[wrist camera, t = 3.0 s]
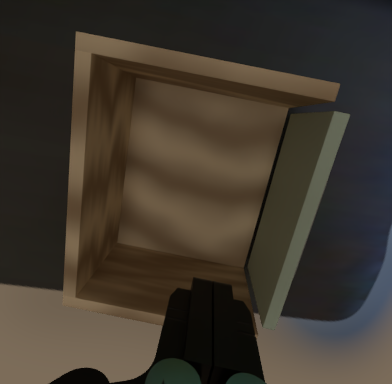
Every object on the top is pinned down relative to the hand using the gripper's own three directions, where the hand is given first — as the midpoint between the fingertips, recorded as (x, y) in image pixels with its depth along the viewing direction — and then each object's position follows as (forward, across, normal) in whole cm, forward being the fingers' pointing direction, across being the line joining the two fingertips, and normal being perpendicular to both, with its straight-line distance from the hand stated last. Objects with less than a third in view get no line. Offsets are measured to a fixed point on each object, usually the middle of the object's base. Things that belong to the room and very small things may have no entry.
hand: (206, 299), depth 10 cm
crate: (+19, +2, 0) cm, 19 cm away
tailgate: (+18, -7, 0) cm, 19 cm away
